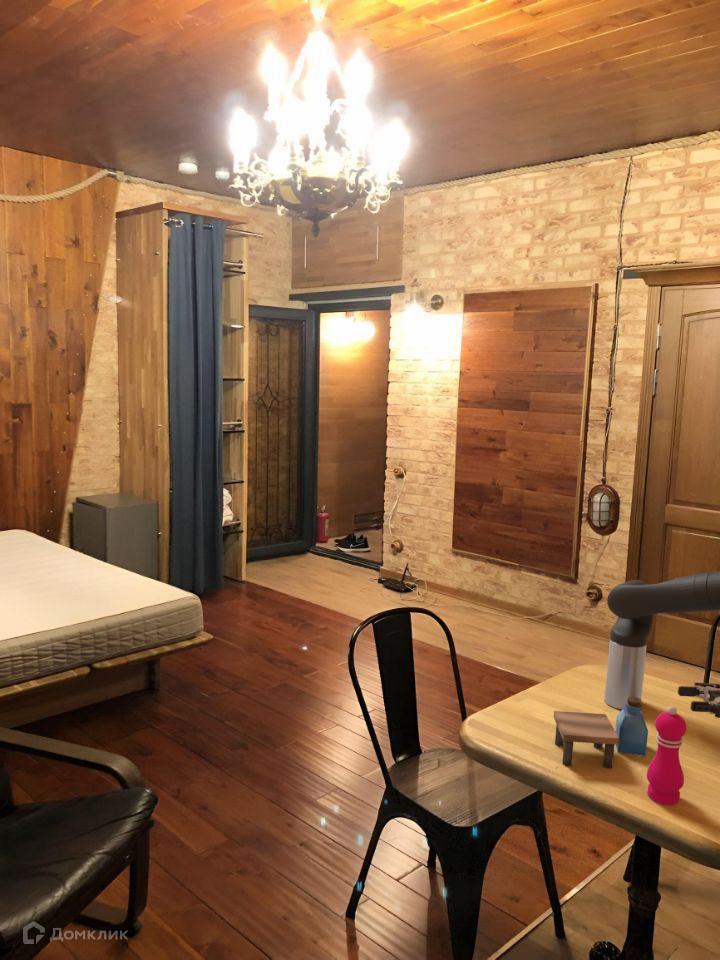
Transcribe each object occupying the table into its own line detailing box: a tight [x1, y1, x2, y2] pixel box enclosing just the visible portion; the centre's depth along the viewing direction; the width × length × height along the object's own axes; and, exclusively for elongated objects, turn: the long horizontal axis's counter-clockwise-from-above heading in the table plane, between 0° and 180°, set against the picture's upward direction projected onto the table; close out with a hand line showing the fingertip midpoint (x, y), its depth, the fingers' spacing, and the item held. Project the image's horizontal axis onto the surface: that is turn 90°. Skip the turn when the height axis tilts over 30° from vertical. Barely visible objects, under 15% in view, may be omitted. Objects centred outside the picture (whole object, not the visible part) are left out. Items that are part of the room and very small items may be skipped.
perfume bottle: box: [614, 697, 649, 757], centre depth 183 cm, size 6×6×12 cm
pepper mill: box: [646, 705, 687, 806], centre depth 162 cm, size 7×7×20 cm
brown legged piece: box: [553, 710, 619, 770], centre depth 179 cm, size 12×12×8 cm
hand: (684, 698), depth 181 cm, fingers open, 8 cm apart
